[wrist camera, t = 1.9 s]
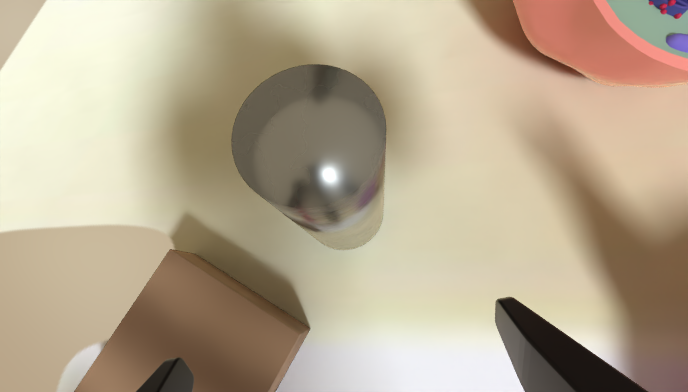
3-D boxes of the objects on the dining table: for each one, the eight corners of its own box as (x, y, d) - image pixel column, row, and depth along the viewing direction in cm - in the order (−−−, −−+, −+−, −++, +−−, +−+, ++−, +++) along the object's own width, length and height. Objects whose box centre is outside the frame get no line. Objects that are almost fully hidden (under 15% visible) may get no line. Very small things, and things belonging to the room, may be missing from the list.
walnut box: (225, 481, 20) (199, 513, 17) (109, 384, 22) (68, 399, 19) (310, 328, 22) (299, 334, 19) (195, 253, 24) (170, 249, 21)
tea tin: (359, 264, 23) (335, 237, 11) (291, 226, 24) (202, 162, 12) (397, 195, 24) (414, 99, 12) (330, 161, 25) (284, 44, 13)
